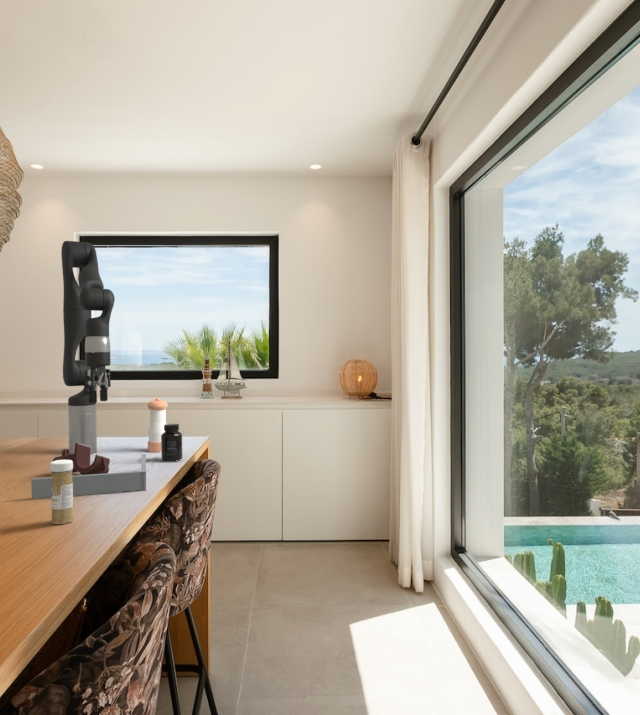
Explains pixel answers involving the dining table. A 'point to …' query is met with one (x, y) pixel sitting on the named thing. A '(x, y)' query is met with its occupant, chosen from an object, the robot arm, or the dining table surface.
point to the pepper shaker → (156, 424)
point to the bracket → (85, 460)
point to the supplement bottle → (171, 443)
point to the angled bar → (96, 483)
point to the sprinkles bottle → (61, 491)
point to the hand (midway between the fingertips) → (98, 402)
